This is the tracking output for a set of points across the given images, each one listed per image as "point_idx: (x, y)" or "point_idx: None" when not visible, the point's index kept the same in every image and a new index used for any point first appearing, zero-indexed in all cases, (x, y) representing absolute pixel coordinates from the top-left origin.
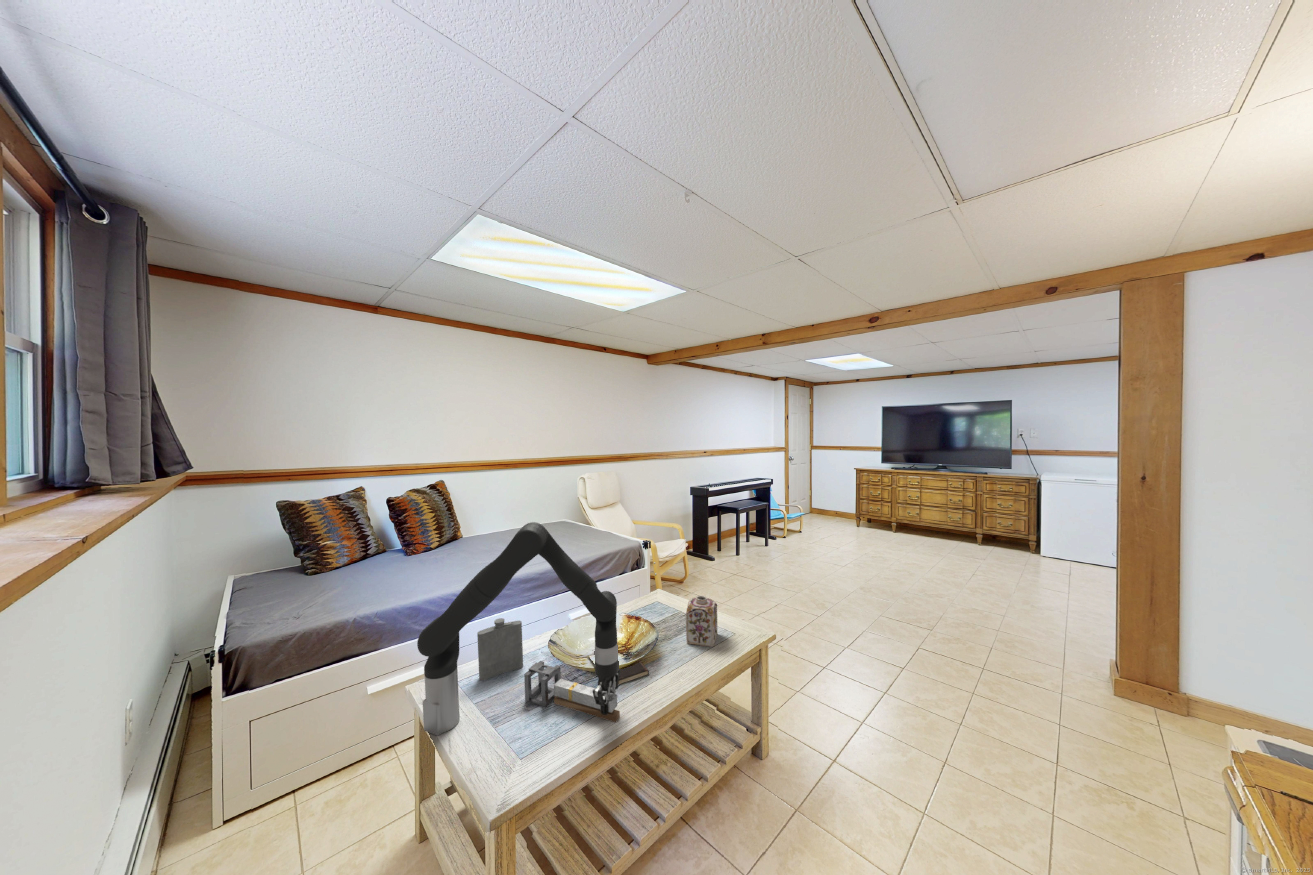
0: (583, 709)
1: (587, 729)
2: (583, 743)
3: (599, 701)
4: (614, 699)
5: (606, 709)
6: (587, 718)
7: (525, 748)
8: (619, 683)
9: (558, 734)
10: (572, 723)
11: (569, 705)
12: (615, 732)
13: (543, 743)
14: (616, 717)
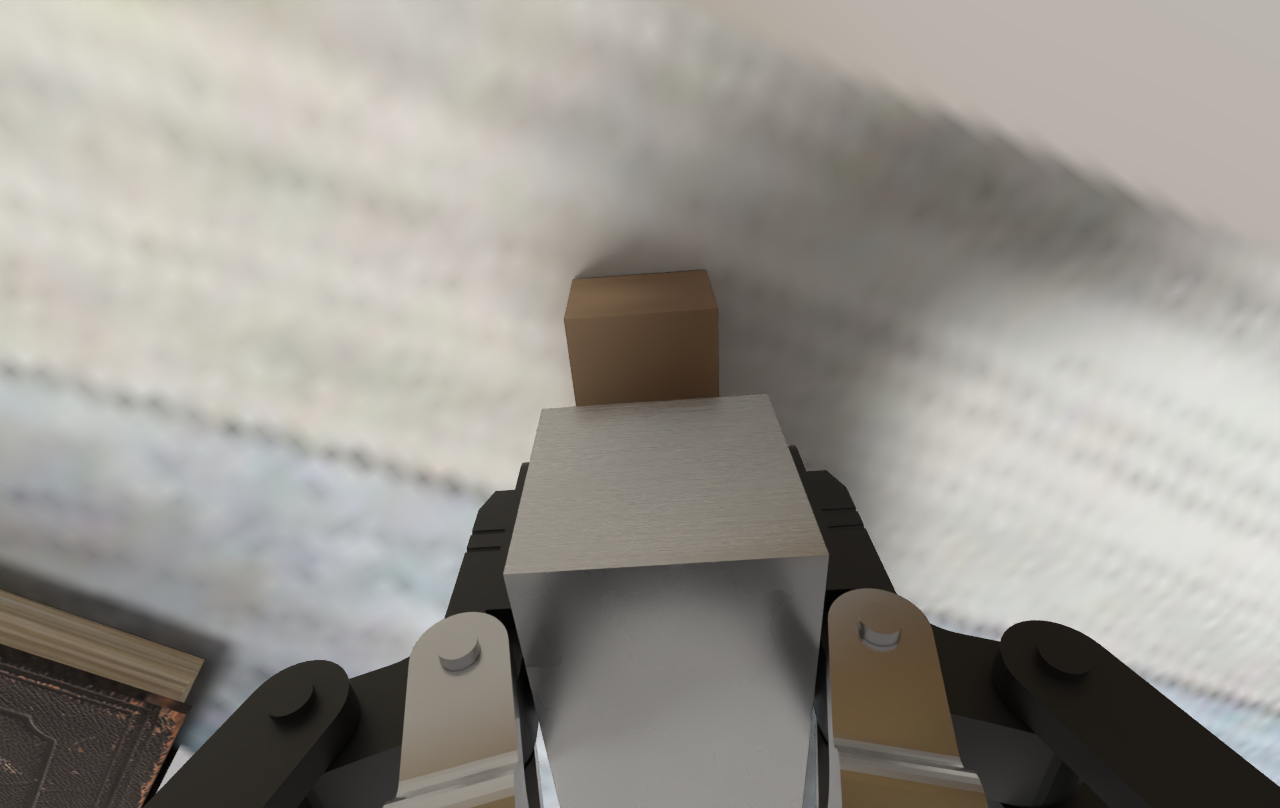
0: None
1: (948, 511)
2: (1192, 430)
3: (1070, 776)
4: (656, 530)
5: (817, 507)
6: None
7: (1270, 774)
8: (55, 615)
9: None
10: None
11: None
12: (912, 146)
13: (1206, 714)
14: (682, 293)
